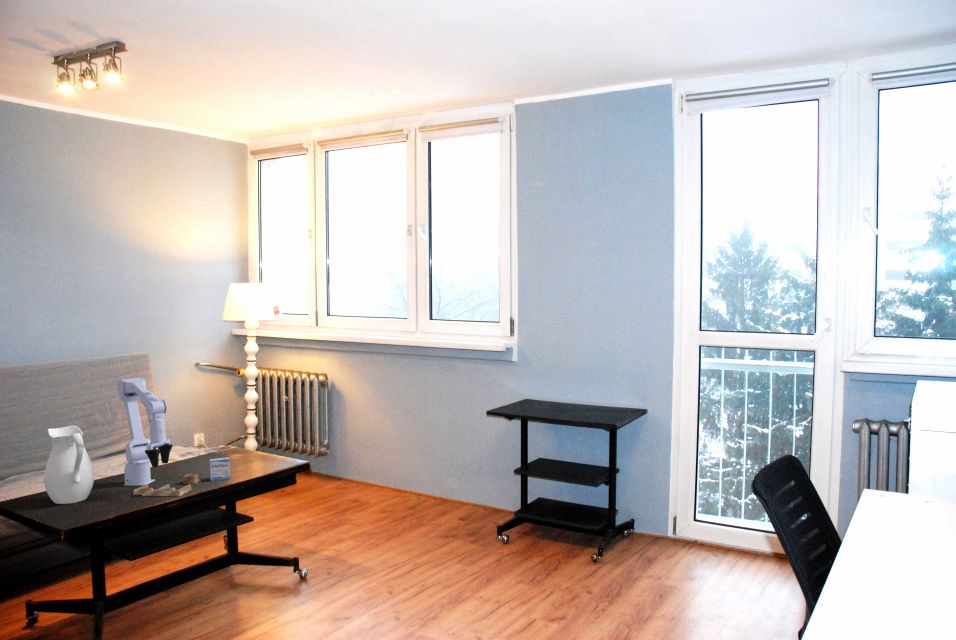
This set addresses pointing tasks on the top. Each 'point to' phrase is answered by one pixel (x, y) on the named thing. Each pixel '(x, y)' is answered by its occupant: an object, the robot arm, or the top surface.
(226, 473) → the medicine box
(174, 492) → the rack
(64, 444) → the pitcher
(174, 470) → the top surface
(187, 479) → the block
